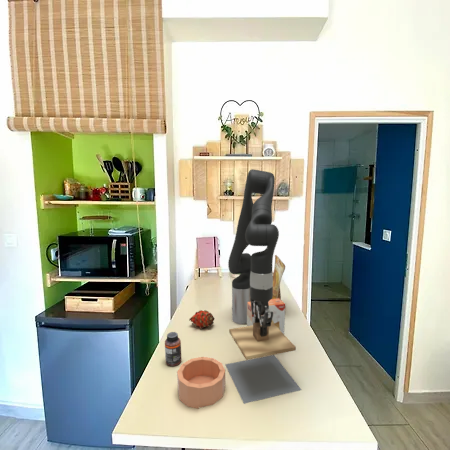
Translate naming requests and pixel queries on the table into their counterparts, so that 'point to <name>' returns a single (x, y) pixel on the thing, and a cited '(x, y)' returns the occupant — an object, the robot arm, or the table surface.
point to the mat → (261, 378)
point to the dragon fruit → (202, 319)
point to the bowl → (201, 382)
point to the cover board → (260, 341)
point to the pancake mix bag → (277, 277)
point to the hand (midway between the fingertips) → (260, 332)
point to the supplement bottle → (173, 349)
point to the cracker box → (274, 306)
